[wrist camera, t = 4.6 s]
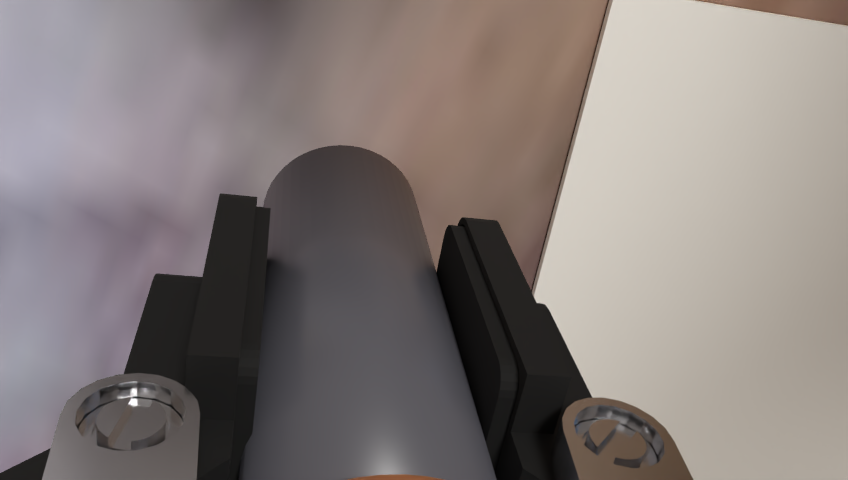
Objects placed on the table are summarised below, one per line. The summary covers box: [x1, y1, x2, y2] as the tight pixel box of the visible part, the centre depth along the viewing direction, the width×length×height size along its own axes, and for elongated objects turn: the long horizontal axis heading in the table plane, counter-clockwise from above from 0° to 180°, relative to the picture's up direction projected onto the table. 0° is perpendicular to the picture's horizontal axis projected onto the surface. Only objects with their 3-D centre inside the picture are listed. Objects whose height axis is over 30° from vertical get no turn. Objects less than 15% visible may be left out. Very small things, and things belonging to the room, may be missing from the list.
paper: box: [532, 0, 848, 480], centre depth 22 cm, size 14×14×1 cm
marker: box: [238, 145, 497, 480], centre depth 10 cm, size 3×3×10 cm
